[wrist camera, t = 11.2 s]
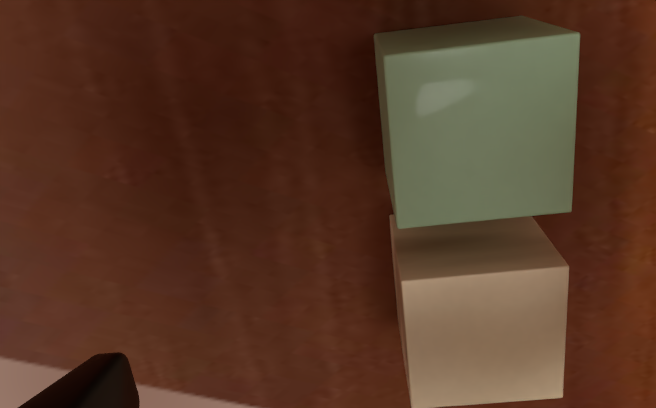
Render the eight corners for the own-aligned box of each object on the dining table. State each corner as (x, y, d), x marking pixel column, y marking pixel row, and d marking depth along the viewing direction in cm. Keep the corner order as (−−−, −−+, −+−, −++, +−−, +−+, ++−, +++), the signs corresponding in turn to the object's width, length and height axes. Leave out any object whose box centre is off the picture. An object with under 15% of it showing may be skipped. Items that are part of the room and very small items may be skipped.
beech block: (519, 313, 21) (563, 398, 17) (398, 323, 21) (411, 409, 17) (521, 201, 19) (570, 266, 15) (388, 214, 20) (401, 281, 16)
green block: (522, 157, 19) (572, 213, 15) (385, 172, 19) (397, 230, 15) (523, 15, 17) (581, 32, 13) (373, 33, 17) (382, 55, 13)
